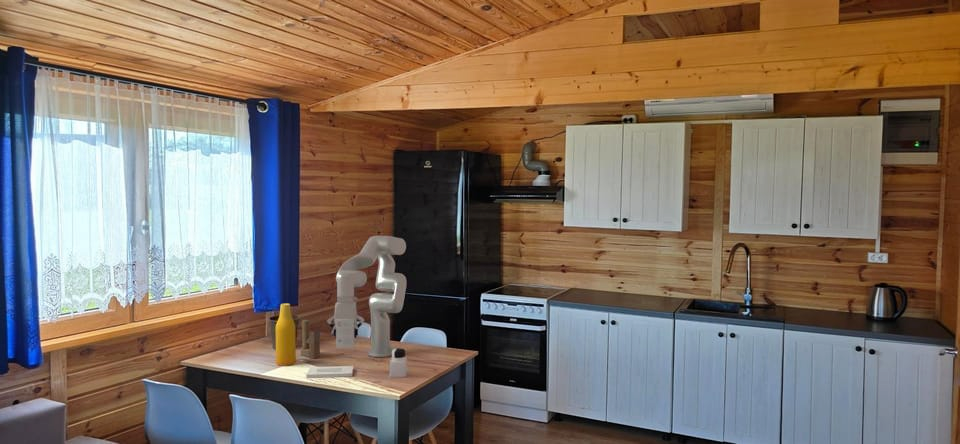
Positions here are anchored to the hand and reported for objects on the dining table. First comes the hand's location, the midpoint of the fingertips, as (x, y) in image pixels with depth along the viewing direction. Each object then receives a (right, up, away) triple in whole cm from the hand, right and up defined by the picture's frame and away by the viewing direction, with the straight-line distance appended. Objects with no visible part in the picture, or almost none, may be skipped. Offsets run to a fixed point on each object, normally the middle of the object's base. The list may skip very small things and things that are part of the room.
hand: (345, 337), depth 298 cm
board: (-7, -17, 0) cm, 18 cm away
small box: (0, -4, 0) cm, 4 cm away
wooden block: (-24, -15, +29) cm, 41 cm away
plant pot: (-42, -14, +47) cm, 65 cm away
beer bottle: (-32, -16, +16) cm, 39 cm away
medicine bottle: (+24, -17, -2) cm, 30 cm away
